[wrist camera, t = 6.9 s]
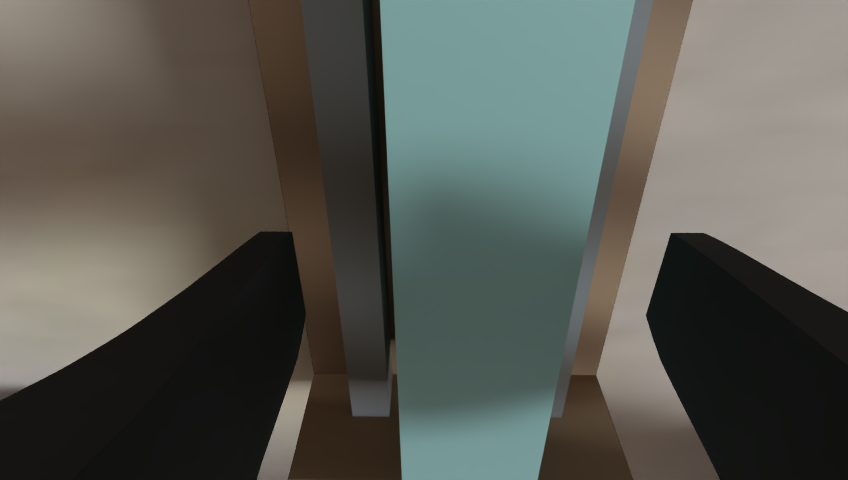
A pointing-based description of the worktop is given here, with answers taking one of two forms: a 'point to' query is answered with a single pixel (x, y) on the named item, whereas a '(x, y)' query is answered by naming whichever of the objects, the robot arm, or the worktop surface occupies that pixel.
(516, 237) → the long teal rectangular block
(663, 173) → the worktop surface
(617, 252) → the track board
